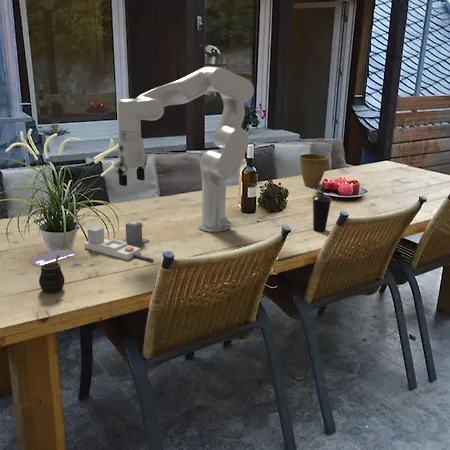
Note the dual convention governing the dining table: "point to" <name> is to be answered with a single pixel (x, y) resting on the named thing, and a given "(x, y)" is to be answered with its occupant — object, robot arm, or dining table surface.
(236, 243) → the dining table surface
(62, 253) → the mobile phone
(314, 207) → the drinking cup
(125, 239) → the mat
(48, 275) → the mate gourd
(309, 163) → the plant pot
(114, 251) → the power strip
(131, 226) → the block
